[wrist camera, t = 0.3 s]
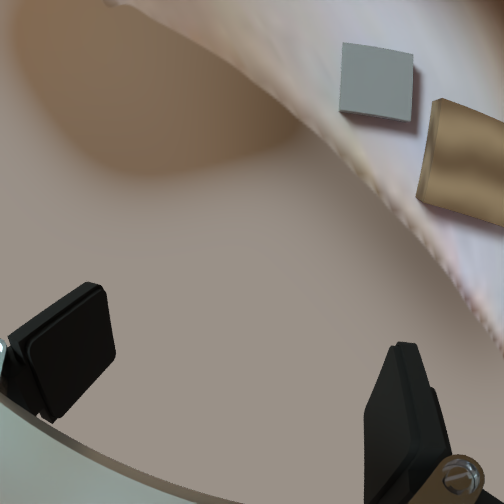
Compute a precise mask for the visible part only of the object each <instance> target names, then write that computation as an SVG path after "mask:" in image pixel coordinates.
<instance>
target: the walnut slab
mask: <svg viewBox="0 0 504 504" xmlns="http://www.w3.org/2000/svg"><path fill="white" fill-rule="evenodd" d="M416 198H418V199H419V200H421V201H422V202H424V203H427V204H431V205H434V206H438V207H441V208H445V209H448V210H452V211H455V212H458V213H462V214H465V215H468V216H471V217H475V218H478V219H481V220H484V221H487V222H490V223H493V224H496V225H499V226H502V227H504V123H503V122H501V121H499V120H497V119H495V118H492V117H490V116H488V115H485V114H483V113H480V112H478V111H476V110H473V109H471V108H468V107H465V106H463V105H460V104H457V103H455V102H452V101H449V100H446V99H444V98H441V99H438V100H435V101H432V108H431V115H430V122H429V129H428V135H427V141H426V147H425V153H424V158H423V164H422V169H421V174H420V178H419V183H418V188H417V192H416Z"/></svg>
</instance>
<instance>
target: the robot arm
mask: <svg viewBox="0 0 504 504" xmlns="http://www.w3.org/2000/svg"><path fill="white" fill-rule="evenodd" d="M8 339H9V342H10V345H11V346H9V347H8V348H7V345H6V343H5V341H4V340H2V339H1V338H0V504H243V503H239V502H234V501H230V500H226V499H223V498H219V497H215V496H211V495H208V494H205V493H201V492H198V491H195V490H191V489H188V488H185V487H182V486H179V485H176V484H173V483H170V482H168V481H165V480H162V479H159V478H156V477H154V476H152V475H149V474H146V473H144V472H141V471H139V470H136V469H134V468H132V467H130V466H127V465H125V464H123V463H120V462H118V461H116V460H114V459H112V458H110V457H107V456H105V455H103V454H101V453H99V452H97V451H95V450H93V449H91V448H89V447H87V446H85V445H83V444H82V443H80V442H78V441H76V440H74V439H72V438H71V437H69V436H67V435H65V434H63V433H61V432H60V431H58V430H57V429H55V428H53V427H51V426H50V425H48V424H46V423H45V422H43V421H42V420H40V419H39V418H37V417H36V415H37V414H38V413H40V415H41V417H42V418H43V419H45V420H47V421H48V422H50V423H52V424H53V423H54V422H55V421H56V420H57V418H61V417H62V416H64V414H65V413H66V412H67V411H68V410H69V409H70V408H71V407H72V406H73V404H74V403H75V402H76V401H77V400H78V399H79V398H80V397H81V396H82V395H83V393H84V392H85V391H86V390H87V389H88V388H89V387H90V386H91V385H92V384H93V383H94V381H95V380H96V379H97V378H98V377H99V376H100V375H101V374H102V373H103V372H104V371H105V369H106V368H107V367H108V366H109V365H110V364H111V363H112V362H113V361H114V359H115V355H116V350H115V345H114V339H113V334H112V328H111V321H110V315H109V309H108V301H107V294H106V292H105V291H104V289H103V287H102V286H101V285H98V284H95V283H91V282H85V283H83V284H82V285H80V286H79V287H77V288H76V289H74V290H73V291H71V292H70V293H68V294H67V295H65V296H64V297H62V298H61V299H59V300H58V301H57V302H55V303H54V304H52V305H51V306H49V307H48V308H47V309H45V310H44V311H42V312H41V313H39V314H38V315H37V316H35V317H34V318H32V319H31V320H29V321H28V322H27V323H25V324H24V325H22V326H21V327H20V328H19V329H17V330H15V331H14V332H13V333H11V334H10V335H9V336H8ZM484 483H485V475H484V472H483V469H482V468H481V466H480V465H479V464H478V462H476V461H475V460H474V459H472V458H470V457H468V456H466V455H459V454H457V455H452V451H451V447H450V442H449V438H448V434H447V430H446V426H445V423H444V419H443V415H442V412H441V408H440V405H439V401H438V398H437V395H436V392H435V389H434V388H432V387H430V385H429V381H428V378H427V375H426V371H425V368H424V366H423V362H422V359H421V356H420V353H419V350H418V347H417V345H416V344H415V343H407V342H397V344H396V346H391V347H390V348H389V350H388V353H387V356H386V358H385V361H384V364H383V366H382V369H381V371H380V374H379V377H378V379H377V382H376V384H375V387H374V389H373V391H372V394H371V396H370V398H369V401H368V403H367V405H366V408H365V412H364V504H504V503H503V502H501V501H500V500H498V499H497V498H495V497H494V496H492V495H491V494H489V493H488V492H487V491H485V490H484V489H483V486H484Z"/></svg>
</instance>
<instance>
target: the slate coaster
mask: <svg viewBox="0 0 504 504" xmlns="http://www.w3.org/2000/svg"><path fill="white" fill-rule="evenodd" d="M412 89H413V54H409V53H404V52H399V51H394V50H389V49H384V48H378V47H372V46H366V45H359V44H351V43H343V45H342V61H341V83H340V100H339V112H345V113H352V114H359V115H366V116H372V117H378V118H384V119H390V120H395V121H400V122H410V121H411V109H412Z"/></svg>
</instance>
